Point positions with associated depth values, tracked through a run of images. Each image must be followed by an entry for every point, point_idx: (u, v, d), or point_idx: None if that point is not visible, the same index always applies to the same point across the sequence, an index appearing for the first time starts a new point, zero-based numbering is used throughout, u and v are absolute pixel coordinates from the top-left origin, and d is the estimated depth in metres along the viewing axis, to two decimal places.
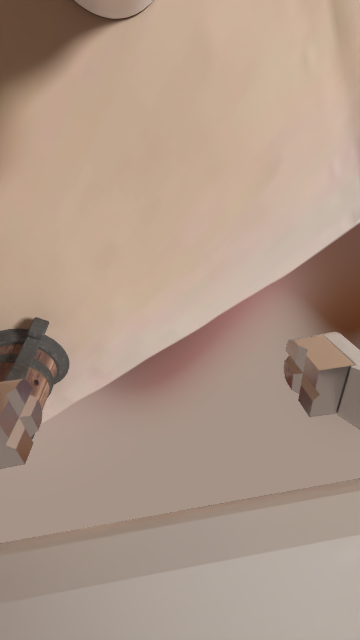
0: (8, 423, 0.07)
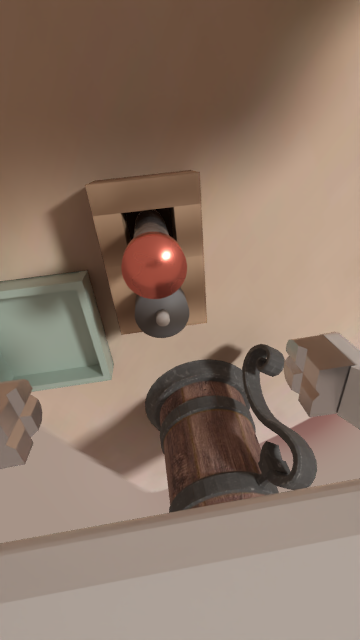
0: (8, 423, 0.07)
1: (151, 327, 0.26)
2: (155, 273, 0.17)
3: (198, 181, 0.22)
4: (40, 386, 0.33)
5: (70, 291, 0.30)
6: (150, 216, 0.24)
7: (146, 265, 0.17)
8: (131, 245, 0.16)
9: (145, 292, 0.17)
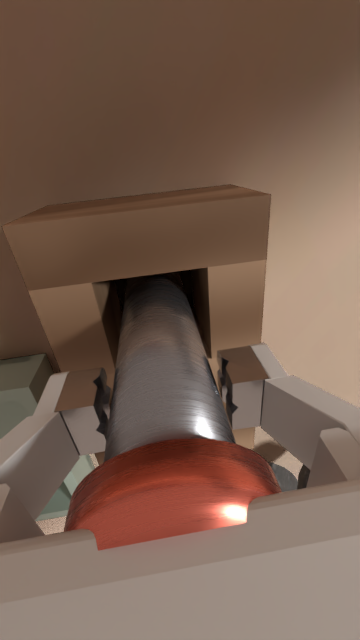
0: (98, 409, 0.07)
1: None
2: None
3: (266, 214, 0.10)
4: None
5: None
6: (156, 281, 0.12)
7: None
8: None
9: None
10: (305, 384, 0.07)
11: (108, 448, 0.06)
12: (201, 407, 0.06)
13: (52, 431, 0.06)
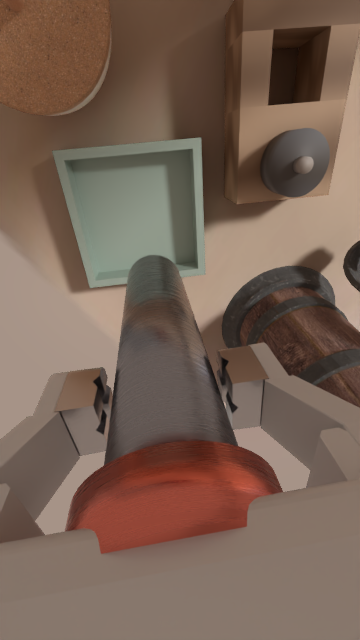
0: (98, 409, 0.07)
1: (284, 180, 0.23)
2: None
3: None
4: None
5: (175, 163, 0.28)
6: (157, 282, 0.11)
7: None
8: None
9: None
10: (305, 384, 0.07)
11: (109, 450, 0.06)
12: (203, 410, 0.06)
13: (52, 431, 0.06)
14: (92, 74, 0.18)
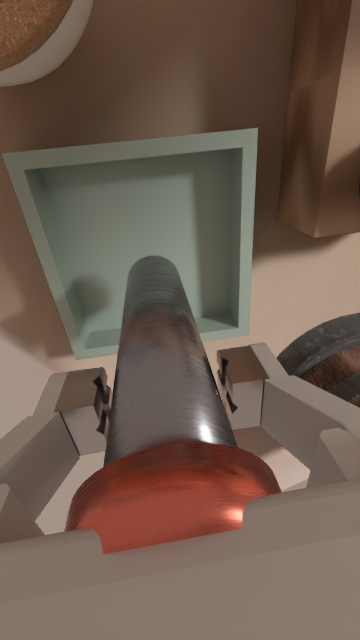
0: (98, 409, 0.07)
1: None
2: None
3: None
4: None
5: (208, 171, 0.17)
6: (156, 282, 0.11)
7: None
8: None
9: None
10: (305, 384, 0.07)
11: (108, 451, 0.06)
12: (202, 411, 0.06)
13: (52, 431, 0.06)
14: None
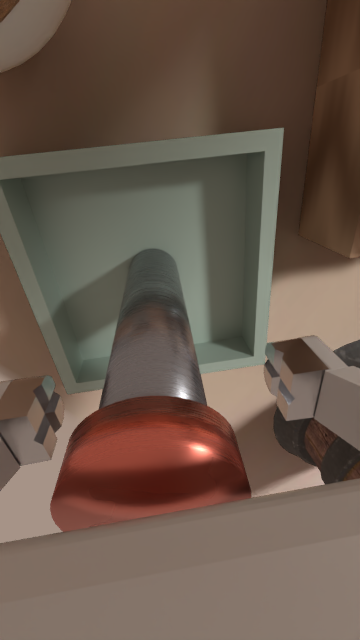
0: (36, 419, 0.07)
1: None
2: None
3: None
4: None
5: (220, 179, 0.15)
6: (152, 273, 0.13)
7: (128, 505, 0.05)
8: (76, 470, 0.05)
9: None
10: None
11: (100, 408, 0.07)
12: (178, 378, 0.07)
13: None
14: None
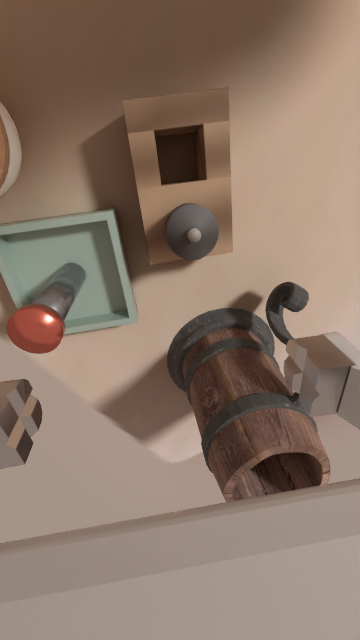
0: (8, 423, 0.07)
1: (182, 247, 0.26)
2: (35, 335, 0.22)
3: (226, 97, 0.23)
4: (68, 329, 0.34)
5: (99, 229, 0.31)
6: (61, 274, 0.29)
7: (27, 330, 0.21)
8: (11, 317, 0.21)
9: (31, 349, 0.22)
10: None
11: None
12: (48, 303, 0.23)
13: None
14: None
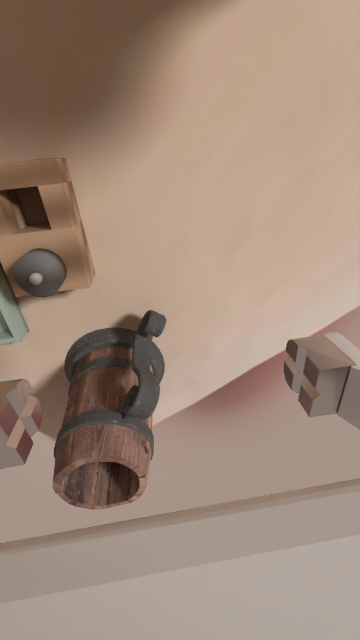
0: (8, 423, 0.07)
1: (30, 286, 0.31)
2: None
3: (53, 165, 0.27)
4: None
5: None
6: None
7: None
8: None
9: None
10: None
11: None
12: None
13: None
14: None
